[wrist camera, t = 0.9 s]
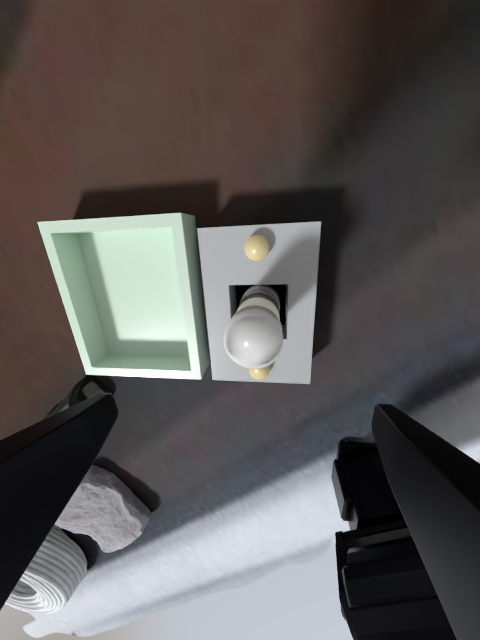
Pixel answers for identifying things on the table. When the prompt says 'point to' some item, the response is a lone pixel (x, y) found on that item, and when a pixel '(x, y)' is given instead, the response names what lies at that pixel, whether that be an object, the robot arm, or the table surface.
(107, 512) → the stone block
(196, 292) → the tray
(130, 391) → the table surface
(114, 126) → the table surface
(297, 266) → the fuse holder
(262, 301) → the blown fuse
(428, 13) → the table surface
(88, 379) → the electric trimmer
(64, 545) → the cable
